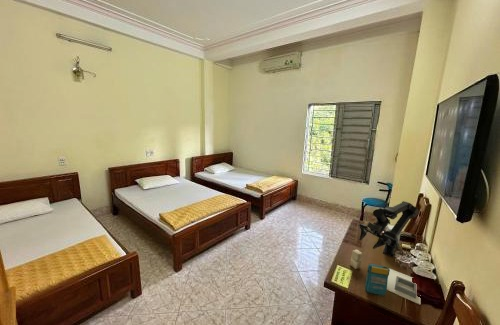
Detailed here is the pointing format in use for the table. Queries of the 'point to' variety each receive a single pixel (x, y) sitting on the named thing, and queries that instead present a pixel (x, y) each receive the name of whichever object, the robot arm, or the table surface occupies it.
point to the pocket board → (402, 286)
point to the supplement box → (391, 229)
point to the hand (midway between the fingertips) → (366, 244)
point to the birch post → (356, 259)
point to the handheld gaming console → (377, 279)
